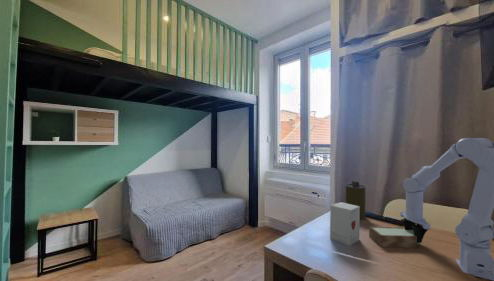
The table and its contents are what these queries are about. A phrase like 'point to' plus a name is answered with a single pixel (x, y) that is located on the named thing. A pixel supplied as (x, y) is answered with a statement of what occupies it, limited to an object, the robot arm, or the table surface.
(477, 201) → the robot arm
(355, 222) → the supplement box
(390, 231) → the lid
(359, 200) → the canister
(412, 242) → the tub
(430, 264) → the table surface
